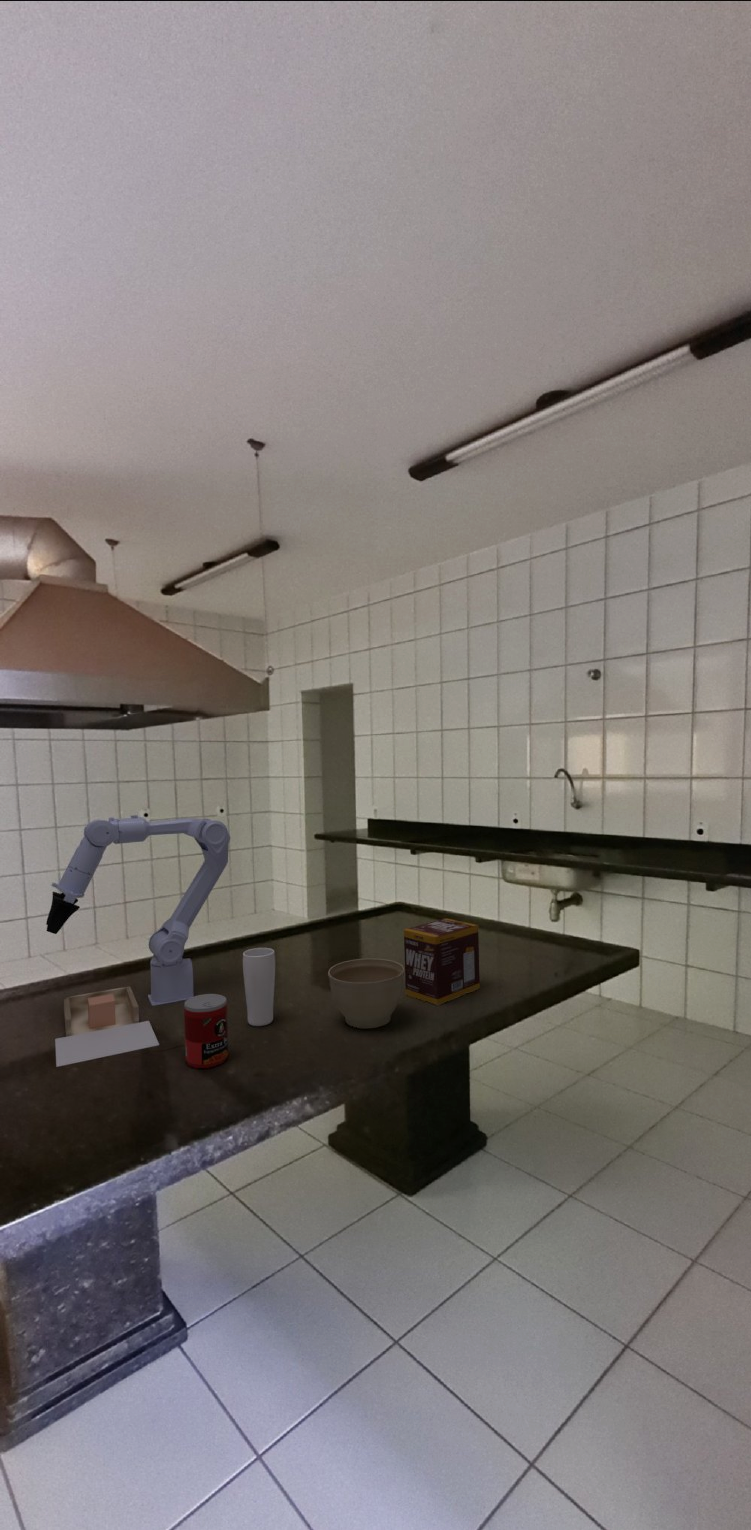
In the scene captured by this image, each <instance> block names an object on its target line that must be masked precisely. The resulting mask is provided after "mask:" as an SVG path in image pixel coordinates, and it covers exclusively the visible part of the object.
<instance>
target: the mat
mask: <svg viewBox="0 0 751 1530" xmlns="http://www.w3.org/2000/svg"><path fill="white" fill-rule="evenodd" d="M54 1040H55V1043H54V1044H55V1065H56V1066H55V1067H56V1068H59V1067H62V1066H67V1065H68V1066H69V1065H72V1064H76V1063H83V1062H87V1061H91V1060H96V1059H100V1058H105V1057H111V1056H115V1055H118V1054H123V1053H124V1054H125V1053H129V1052H134V1051H139V1050H143V1049H147V1048H152V1047H157V1046H160V1043H159V1041H158V1039H157V1036H156V1034H155V1032H154V1030H153V1028H152V1024H151V1023H150V1020H146V1021H141V1022H140V1021H139V1023H134V1024H129V1025H124V1026H119V1027H114V1028H109V1029H103V1030H98V1031H93V1032H88V1033H83V1034H78V1035H73V1036H68V1037H66V1036H64V1037H58V1038H57V1037H56V1038H55V1039H54Z"/></svg>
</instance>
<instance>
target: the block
mask: <svg viewBox="0 0 751 1530" xmlns="http://www.w3.org/2000/svg"><path fill="white" fill-rule="evenodd" d="M88 1022H89V1027H90V1029H95V1028H100V1027H105V1026H111V1025H116V1019H115V999H114V996H113V994H109V995H103V996H97V997H92V998H88Z"/></svg>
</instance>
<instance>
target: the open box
mask: <svg viewBox="0 0 751 1530" xmlns="http://www.w3.org/2000/svg"><path fill="white" fill-rule="evenodd" d="M109 994H113V996H114V999H115V1019H116V1025H111V1026H105V1027H100V1028H95V1029H90V1027H89V1022H88V998H92V997H97V996H103V995H109ZM139 1008H140V1007H139V1004H138V1002H137V1000H136V997H135V995H134V992H133V990H132V988H131V986H129V985H128V986H124V987H117V988H112V989H111V988H110V989H106V990H100V991H94V992H87V993H83V994H82V993H81V994H78V995H77V994H75V995H71V996H64V997H63V1015H64V1026H65V1037H68V1036H73V1035H78V1034H83V1033H88V1032H93V1031H98V1030H103V1029H109V1028H114V1027H119V1026H124V1025H129V1024H134V1023H139V1022H140V1009H139Z"/></svg>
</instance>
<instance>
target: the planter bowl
mask: <svg viewBox="0 0 751 1530" xmlns="http://www.w3.org/2000/svg"><path fill="white" fill-rule="evenodd" d="M327 975H328V979H329V986H330V993H331V996H332V999H333V1000H334V1003H335V1005H336V1007H337V1008H338V1010H339V1011H340V1013H341V1014H342V1015H343V1016H344V1017H345V1018H344V1019H345V1022H346V1024H347V1025H349V1026H350V1027H352V1026H353V1028H356V1027H357V1029H377V1028H379V1027H383V1026H385V1025H387V1024H388V1023H389V1022H390V1021H391V1018H392V1013H394V1011H395V1009H396V1007H397V1006H398V1003H399V1002H400V999H401V996H402V993H403V988H404V977H405V966H404V965H402V964H401V963H400V962H397V961H394V960H390V959H386V958H385V959H384V958H358V959H350V960H347V961H342V962H339V963H336V964H335V965H333V966H331V967H330V968H329V969H328V972H327Z"/></svg>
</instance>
